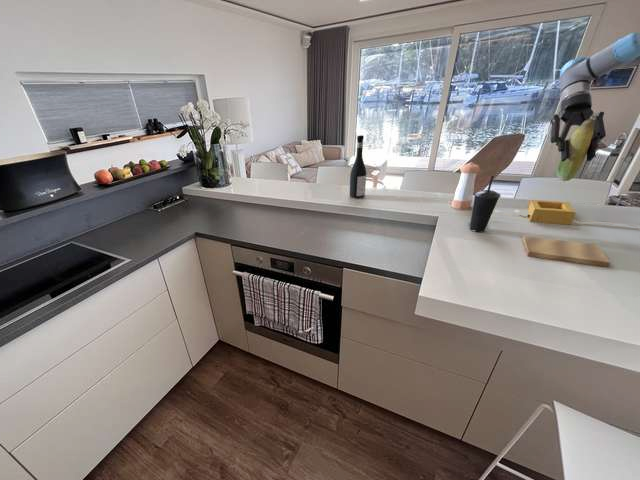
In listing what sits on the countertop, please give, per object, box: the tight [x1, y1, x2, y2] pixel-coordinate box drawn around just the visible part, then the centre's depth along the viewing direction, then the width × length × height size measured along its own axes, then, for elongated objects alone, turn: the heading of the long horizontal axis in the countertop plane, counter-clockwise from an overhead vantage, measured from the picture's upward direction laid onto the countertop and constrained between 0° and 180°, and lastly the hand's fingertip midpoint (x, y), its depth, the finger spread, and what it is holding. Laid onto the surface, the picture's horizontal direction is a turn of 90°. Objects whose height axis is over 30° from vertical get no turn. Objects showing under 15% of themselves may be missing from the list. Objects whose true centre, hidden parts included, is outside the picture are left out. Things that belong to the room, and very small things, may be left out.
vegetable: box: [556, 118, 594, 182], centre depth 97 cm, size 6×6×20 cm
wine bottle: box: [349, 135, 367, 199], centre depth 145 cm, size 8×8×30 cm
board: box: [522, 236, 611, 268], centre depth 89 cm, size 18×12×2 cm, turn 60°
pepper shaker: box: [451, 161, 481, 210], centre depth 123 cm, size 7×7×19 cm
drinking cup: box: [469, 175, 501, 232], centre depth 102 cm, size 8×8×20 cm
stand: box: [526, 199, 576, 226], centre depth 110 cm, size 12×12×5 cm
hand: (578, 158), depth 95 cm, fingers closed on vegetable, 6 cm apart
